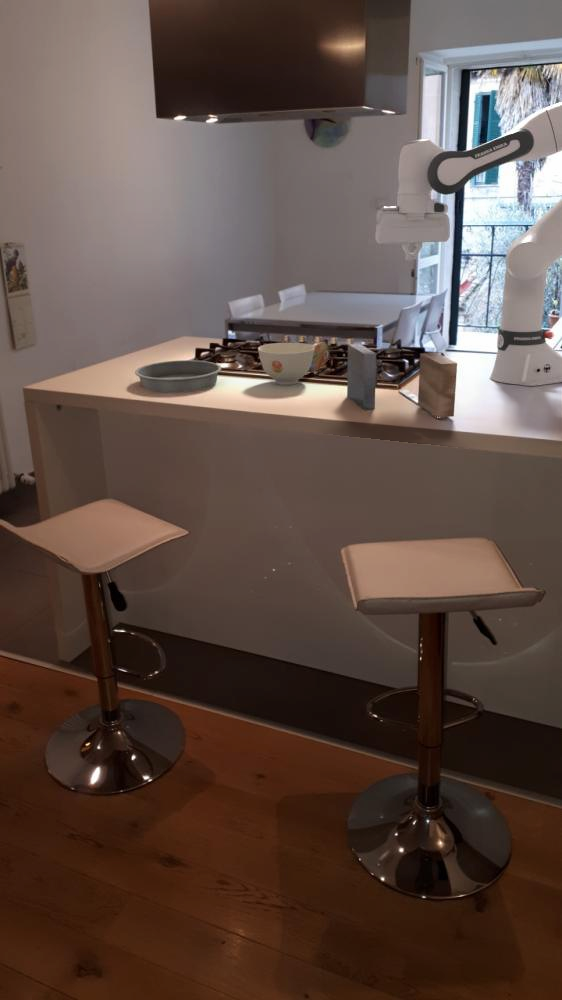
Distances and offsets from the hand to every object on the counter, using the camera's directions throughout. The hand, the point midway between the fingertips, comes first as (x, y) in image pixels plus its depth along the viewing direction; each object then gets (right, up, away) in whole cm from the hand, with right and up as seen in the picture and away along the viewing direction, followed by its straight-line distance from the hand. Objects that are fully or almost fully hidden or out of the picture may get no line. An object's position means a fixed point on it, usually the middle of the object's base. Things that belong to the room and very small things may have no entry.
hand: (411, 260), depth 220 cm
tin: (-25, -27, +24) cm, 44 cm away
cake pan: (-65, -32, +13) cm, 74 cm away
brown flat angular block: (+2, -44, -21) cm, 49 cm away
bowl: (-34, -32, +11) cm, 48 cm away
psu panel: (-7, -41, -14) cm, 44 cm away
